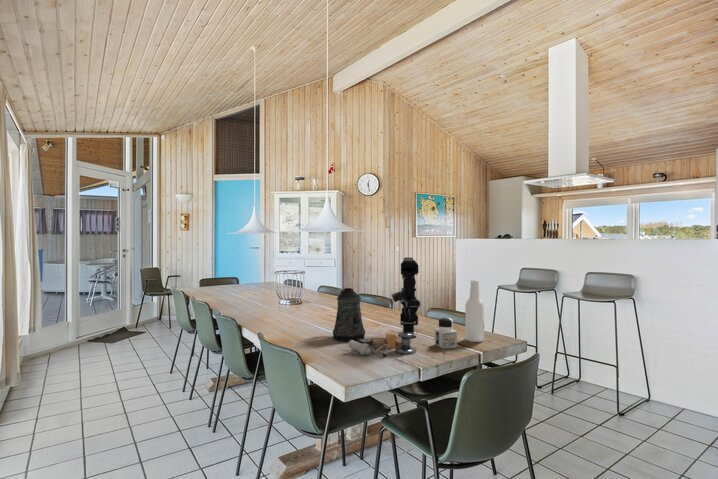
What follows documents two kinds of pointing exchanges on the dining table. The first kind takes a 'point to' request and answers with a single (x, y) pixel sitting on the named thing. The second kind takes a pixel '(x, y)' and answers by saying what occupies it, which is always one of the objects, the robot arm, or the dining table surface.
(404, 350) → the bobbin
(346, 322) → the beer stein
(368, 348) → the clip-on lamp
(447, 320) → the container
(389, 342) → the block
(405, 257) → the robot arm
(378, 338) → the notched board
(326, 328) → the dining table surface
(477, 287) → the alcohol
